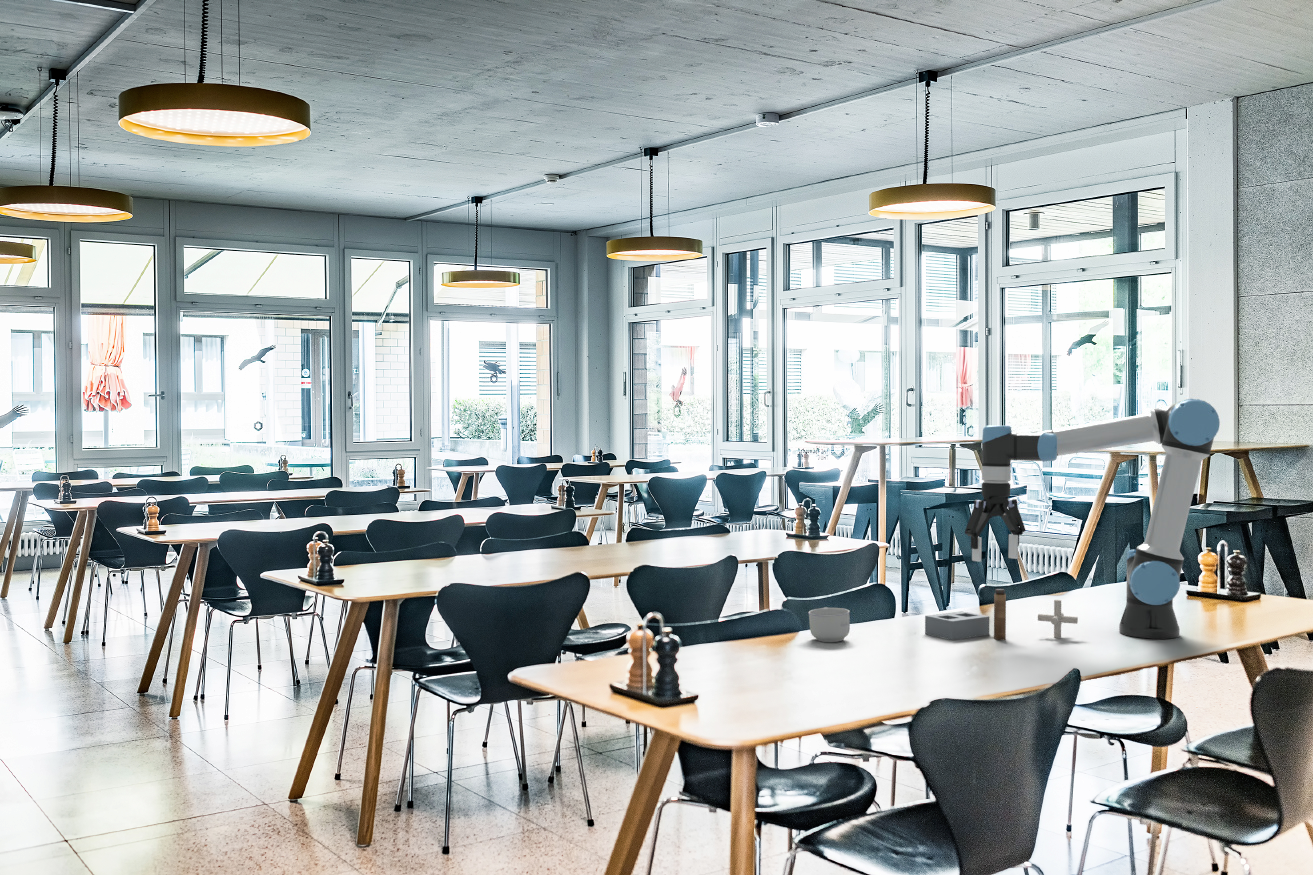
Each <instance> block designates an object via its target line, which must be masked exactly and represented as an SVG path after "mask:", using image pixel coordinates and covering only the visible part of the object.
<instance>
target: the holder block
mask: <svg viewBox="0 0 1313 875" xmlns="http://www.w3.org/2000/svg"><path fill="white" fill-rule="evenodd" d="M924 629H925V630H924V635H929V636H933V637H937V638H942V639H946V640H951V641H955V640H963V639H969V638H976V637H983V636H989V635H990V616H988V615H983V614H978V613H972V612H968V611H953V612H952V611H951V612H945V613H939V614H929V615H925V617H924Z"/></svg>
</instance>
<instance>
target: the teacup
mask: <svg viewBox="0 0 1313 875" xmlns="http://www.w3.org/2000/svg"><path fill="white" fill-rule="evenodd" d="M807 613H808V621H809V631H810V634H811V635H812V637H813V638H815V639H816V641H818V642H821V643H822V642H823V643H838V642H841V641H843V640H844V639H845V638H846V637H847V636H848V635H849V633H850V629H851V627H850V626H851V625H850V624H851V622H850V609H847V608H843V607H841V608H840V607H827V606H826V607H825V606H824V607H821V608H814V609H811V610H809V611H808V612H807Z"/></svg>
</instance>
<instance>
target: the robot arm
mask: <svg viewBox="0 0 1313 875" xmlns="http://www.w3.org/2000/svg"><path fill="white" fill-rule="evenodd" d="M1220 423H1221V422H1220V417H1219V414H1218V412H1217V409H1215V407H1214V406H1212V405H1211V404H1210V402H1207V401H1206V400H1202V399H1199V398H1187V399H1184V400H1181V401H1177V402H1175V403H1173V404H1169V405H1167V406H1164V407H1163V406H1162V407H1158V408H1152V409H1151V410H1150V412H1149V413H1144V414H1143V413H1142V414H1138V415H1133V416H1126V417H1119V418H1114V419H1108V420H1103V421H1096V422H1090V423H1083V424H1077V425H1071V426H1065V427H1060V428H1054V429H1048V430H1047V429H1046V430H1042V431H1034V432H1013V431H1012V427H1011V426H1010V425H992V424H991V425H989V424H988V425H985V426H984V427H983V428H982V436H981V437H982V440H981V480H982V481H983V482H982V483H981V496H982V497H983V500H980V499H975V500H974V501H973V509H972V511H971V514H970V516H969V520H968V522H967V524H966V526H965V530H964V534H965V535H967V536H968V537H970V549H971V561H973V562H979V563H980V562H982V539H983V538H982V537H980V535H981V534H982V533H983V531H984V530H985V527H986V526H987V525H988V522H989V521H990V519H992V518H993V517H1001V519H1002V521H1003V522H1004V524H1005V525H1006V527H1007V528H1008V530H1009V532H1010V534H1008V553H1007V554H1008V555H1007V556H1008V559H1012V560H1013V559H1015V560H1017V559H1018V558H1019V546H1020V536H1023V534H1024V533H1025V532H1026V527H1025V525H1024V524H1025V523H1024V521H1023V519H1022V515H1021V513H1020V509H1019V506H1018V500H1017V499H1016V498H1009V497H1010V496H1011V483H1010V481H1011V472H1012V470H1011V468H1012V467H1011V466H1012V465H1011V464H1012V462H1011V461H1026V462H1044V463H1045V462H1053V461H1056V460H1057V459H1058V457H1059V456H1065V455H1072V454H1079V453H1085V452H1086V453H1087V452H1090V451H1091V452H1092V451H1097V450H1099V451H1100V450H1103V449H1112V448H1117V447H1124V446H1131V445H1138V444H1143V443H1150V442H1151V443H1152V442H1155V443H1156V444H1158V445H1161V447H1162V449H1163V450H1164V452H1165V457H1164V461H1163V465H1162V468H1161V472H1160V473H1161V474H1160V477H1159V481H1158V486H1157V490H1156V495H1155V497H1154V502H1153V506H1152V511H1151V514H1150V519H1149V522H1148V527H1147V530H1146V535H1145V539H1144V541H1143V543H1141V544H1140V545H1137V547H1136V549H1130V550H1128V551H1127V552H1126V558H1125V563H1126V605H1125V608H1124V610H1123V613H1122V616H1121V619H1120V623H1119V628H1118V629H1119V631H1118V632H1119V633H1120V634H1122V635H1124V636H1127V637H1128V636H1129V637H1134V638H1139V639H1141V638H1142V639H1153V640H1155V639H1157V640H1158V639H1159V640H1162V639H1163V640H1165V639H1166V640H1167V639H1175V638H1176V639H1177V638H1179V637H1180V626H1179V623H1178V619H1177V616H1176V613H1175V610H1174V607H1173V605H1174V603H1173V601H1174V600H1173V599H1175V597H1176V595H1177V594H1178V593H1179V591H1180V588H1181V580H1180V577H1181V572H1182V568H1183V565H1184V560H1185V557H1184V556H1183V555H1182V553H1181V551H1180V550H1181V546H1182V542H1183V537H1184V533H1185V530H1186V525H1187V523H1188V522H1187V520H1188V517H1189V513H1190V510H1191V505H1192V501H1193V496H1194V492H1195V488H1196V484H1197V481H1198V476H1199V473H1200V472H1199V471H1200V469H1201V468H1200V467H1201V466H1202V461H1203V460H1204V459H1207V458H1209V457H1210V456H1211V452H1212V451H1211V450H1212V446H1213V443H1214V439H1215V437H1216V436H1217V433H1218V432H1219V429H1220V425H1221V424H1220Z"/></svg>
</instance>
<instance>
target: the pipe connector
mask: <svg viewBox="0 0 1313 875" xmlns="http://www.w3.org/2000/svg"><path fill="white" fill-rule="evenodd" d="M1053 607H1054V608H1053V614H1043V613H1042V614H1041V613H1038V614H1037V621H1039V622H1050V623H1051V624H1052V625H1053V638H1055V639H1061V638H1062V624H1063V623H1064V624H1074V625H1077V624H1078V622H1079V620H1078V619H1079V618H1078V616H1070V615H1069V616H1068V615H1064V613H1063V612H1062V600H1061V599H1054V600H1053Z"/></svg>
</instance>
